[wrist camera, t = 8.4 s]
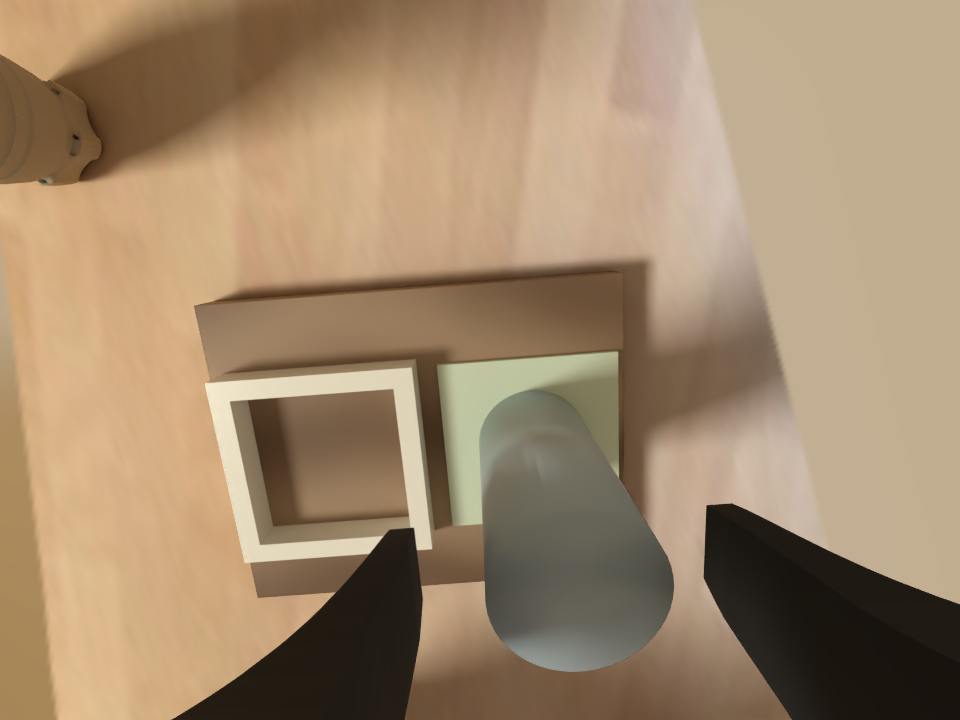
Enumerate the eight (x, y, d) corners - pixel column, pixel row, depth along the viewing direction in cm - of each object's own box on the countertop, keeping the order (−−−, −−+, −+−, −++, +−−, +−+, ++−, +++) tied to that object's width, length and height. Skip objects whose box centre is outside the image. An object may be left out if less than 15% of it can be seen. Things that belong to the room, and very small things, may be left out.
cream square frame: (434, 530, 19) (432, 549, 18) (258, 543, 19) (244, 563, 18) (415, 359, 17) (411, 367, 16) (222, 373, 17) (205, 383, 16)
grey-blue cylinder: (587, 486, 18) (672, 664, 11) (483, 494, 18) (492, 678, 11) (584, 386, 17) (676, 503, 10) (475, 395, 17) (478, 518, 10)
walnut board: (615, 552, 21) (624, 570, 20) (269, 577, 21) (258, 597, 20) (613, 270, 18) (623, 273, 17) (211, 301, 18) (193, 306, 17)
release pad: (617, 511, 19) (619, 513, 19) (453, 523, 19) (452, 526, 19) (616, 350, 17) (618, 351, 17) (437, 364, 17) (436, 365, 17)
